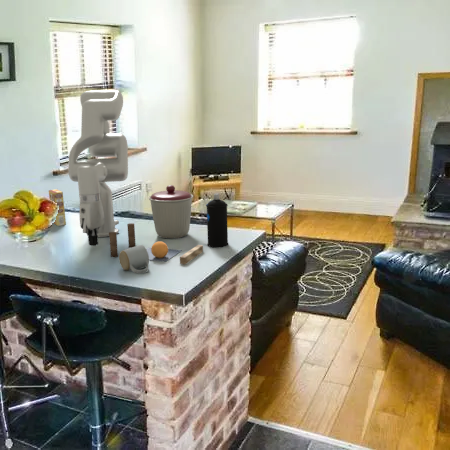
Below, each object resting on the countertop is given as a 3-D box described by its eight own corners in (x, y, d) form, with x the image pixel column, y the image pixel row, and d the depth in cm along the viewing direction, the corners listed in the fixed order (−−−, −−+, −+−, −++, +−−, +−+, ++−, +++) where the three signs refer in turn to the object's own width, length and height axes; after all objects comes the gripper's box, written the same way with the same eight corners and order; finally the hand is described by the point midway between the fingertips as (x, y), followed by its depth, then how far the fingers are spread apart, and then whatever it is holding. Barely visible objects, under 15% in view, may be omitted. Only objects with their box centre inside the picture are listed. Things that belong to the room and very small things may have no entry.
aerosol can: (231, 243, 218) (230, 192, 213) (223, 248, 210) (221, 196, 206) (212, 241, 221) (211, 191, 216) (203, 246, 214) (201, 195, 209)
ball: (172, 255, 202) (158, 257, 205) (169, 239, 201) (156, 241, 204) (163, 258, 196) (149, 260, 199) (160, 241, 196) (146, 243, 199)
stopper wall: (198, 251, 208) (197, 244, 207) (203, 251, 207) (202, 245, 207) (180, 264, 193) (179, 257, 193) (185, 264, 193) (185, 257, 192)
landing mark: (148, 247, 214) (148, 247, 214) (182, 250, 209) (182, 250, 209) (130, 258, 201) (130, 257, 201) (165, 261, 196) (165, 261, 196)
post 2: (130, 245, 218) (129, 223, 215) (136, 246, 217) (135, 223, 214) (127, 247, 215) (126, 224, 213) (133, 247, 214) (132, 225, 212)
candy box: (66, 224, 253) (63, 191, 250) (57, 226, 251) (53, 192, 248) (60, 221, 261) (57, 188, 257) (51, 222, 258) (48, 190, 255)
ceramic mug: (118, 268, 190) (116, 246, 188) (139, 263, 195) (138, 242, 193) (133, 276, 182) (131, 254, 180) (154, 271, 187) (153, 249, 185)
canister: (184, 242, 220) (182, 190, 215) (143, 239, 225) (140, 188, 220) (201, 231, 236) (199, 182, 231) (162, 229, 242) (159, 180, 237)
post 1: (113, 255, 206) (111, 231, 203) (119, 255, 205) (117, 231, 203) (109, 257, 203) (107, 233, 201) (115, 257, 202) (113, 233, 200)
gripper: (86, 202, 202) (90, 251, 206) (109, 194, 215) (112, 240, 220) (69, 201, 204) (73, 249, 209) (92, 193, 218) (96, 239, 222)
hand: (93, 244), depth 214 cm, fingers closed
